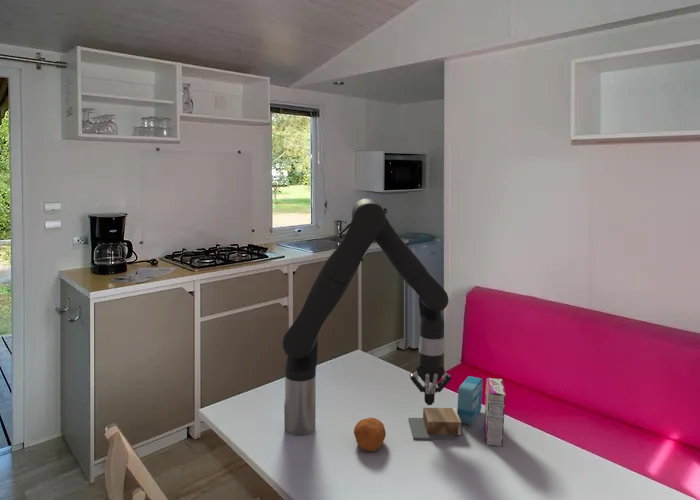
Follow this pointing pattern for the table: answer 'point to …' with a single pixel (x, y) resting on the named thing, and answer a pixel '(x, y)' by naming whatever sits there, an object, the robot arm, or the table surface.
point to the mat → (421, 433)
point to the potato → (369, 434)
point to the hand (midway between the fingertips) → (429, 403)
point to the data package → (470, 399)
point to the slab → (442, 421)
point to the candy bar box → (494, 412)
